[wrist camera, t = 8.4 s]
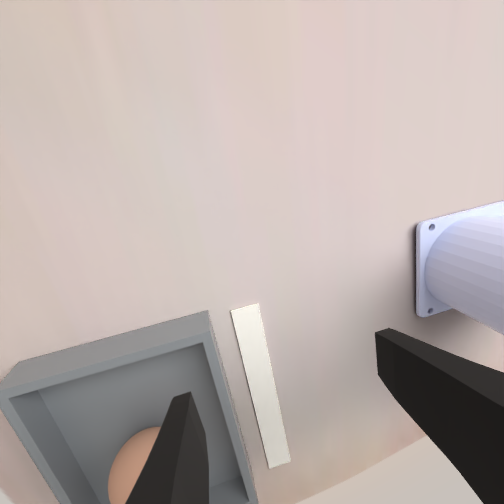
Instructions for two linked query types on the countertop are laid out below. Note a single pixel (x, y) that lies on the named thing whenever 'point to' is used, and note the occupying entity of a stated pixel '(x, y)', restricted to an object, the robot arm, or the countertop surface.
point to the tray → (124, 407)
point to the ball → (130, 464)
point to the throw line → (261, 382)
